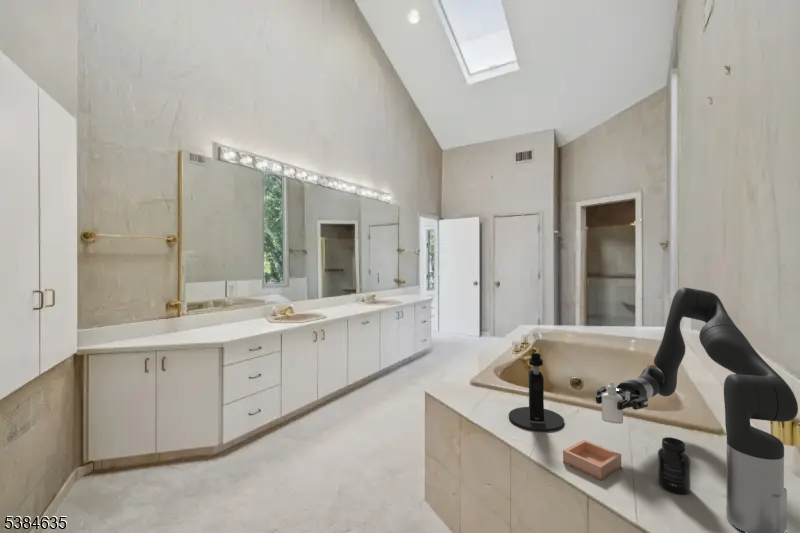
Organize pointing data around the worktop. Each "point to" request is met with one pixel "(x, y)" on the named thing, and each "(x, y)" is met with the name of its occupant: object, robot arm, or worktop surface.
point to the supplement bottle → (674, 466)
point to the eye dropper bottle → (611, 406)
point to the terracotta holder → (592, 459)
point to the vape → (536, 404)
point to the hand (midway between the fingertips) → (607, 403)
